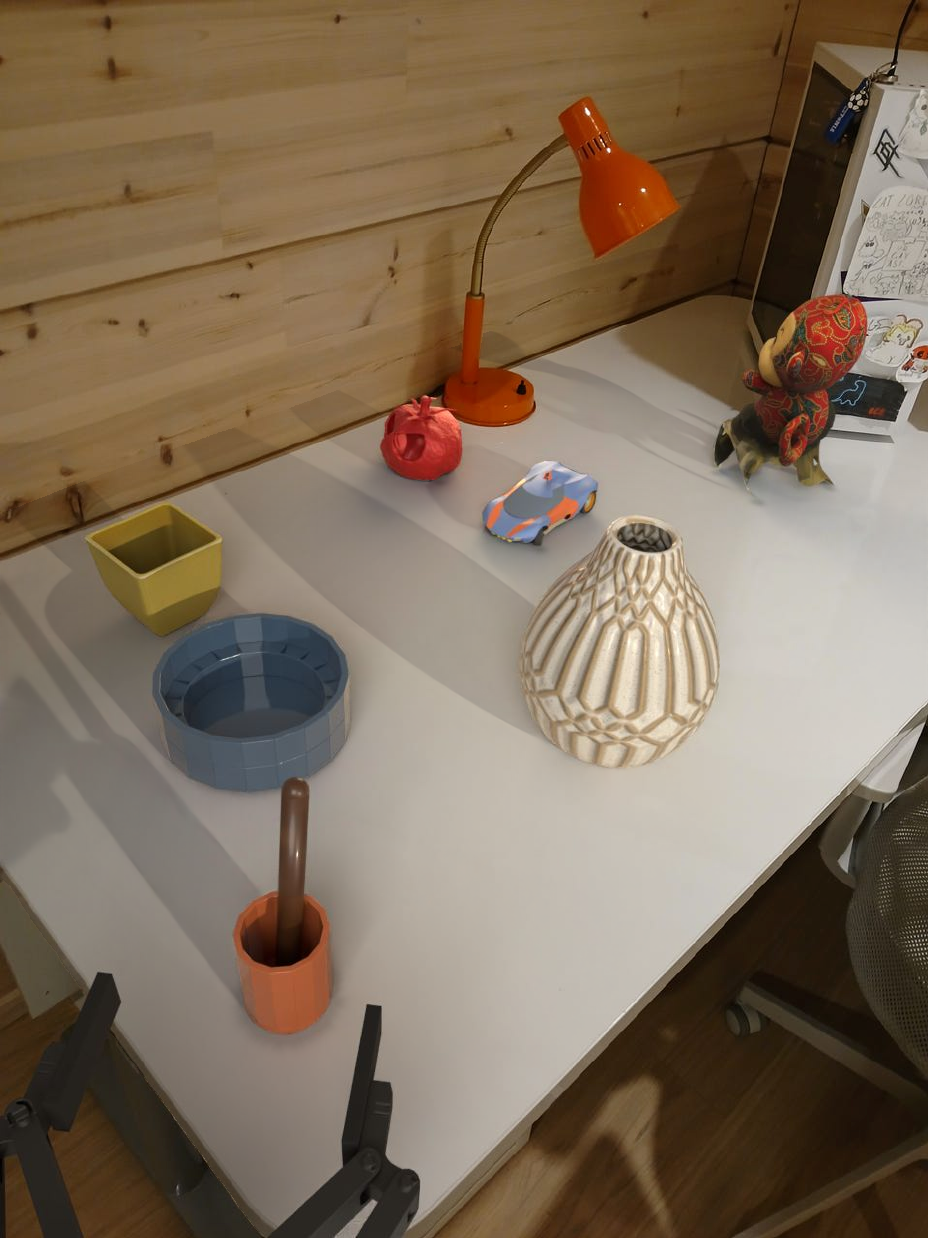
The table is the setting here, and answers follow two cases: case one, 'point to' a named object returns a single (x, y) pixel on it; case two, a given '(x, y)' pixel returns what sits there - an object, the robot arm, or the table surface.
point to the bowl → (252, 701)
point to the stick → (292, 870)
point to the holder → (285, 991)
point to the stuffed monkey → (796, 389)
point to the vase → (622, 650)
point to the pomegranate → (422, 440)
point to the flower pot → (160, 566)
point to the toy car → (540, 503)
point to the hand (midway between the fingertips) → (241, 1002)
